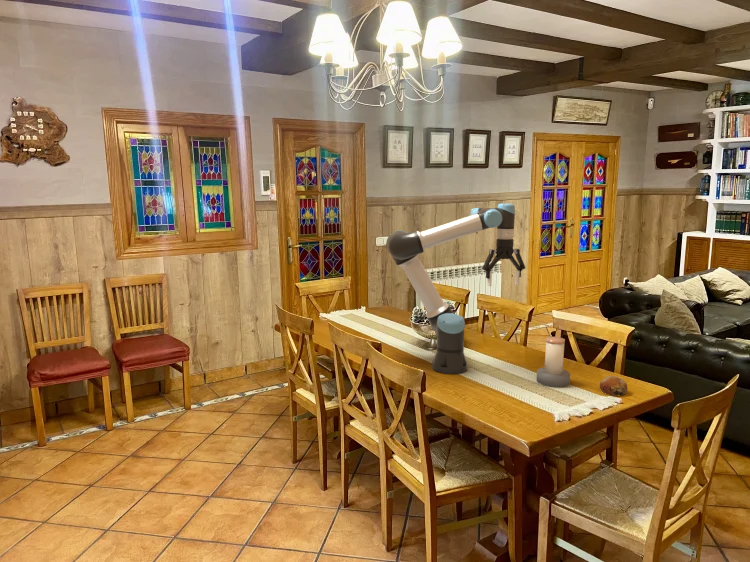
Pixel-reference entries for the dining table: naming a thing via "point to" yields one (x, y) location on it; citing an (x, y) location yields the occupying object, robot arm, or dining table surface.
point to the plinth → (553, 378)
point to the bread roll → (613, 385)
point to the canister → (554, 355)
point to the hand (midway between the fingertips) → (503, 285)
